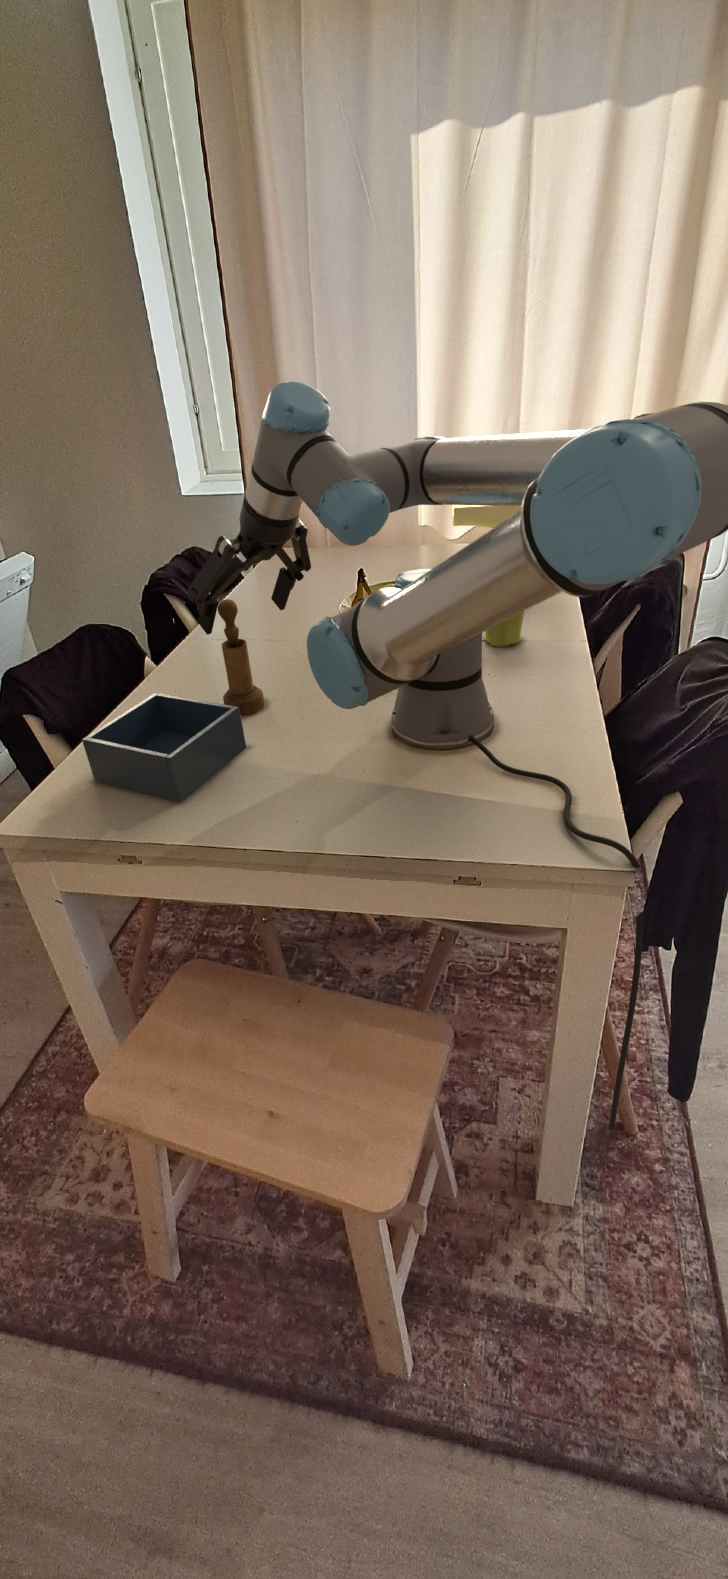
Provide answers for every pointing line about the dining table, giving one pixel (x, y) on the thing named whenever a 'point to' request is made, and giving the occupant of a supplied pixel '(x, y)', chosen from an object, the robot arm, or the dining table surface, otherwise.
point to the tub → (165, 745)
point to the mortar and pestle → (238, 665)
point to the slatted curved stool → (482, 515)
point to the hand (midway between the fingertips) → (242, 615)
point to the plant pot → (505, 631)
